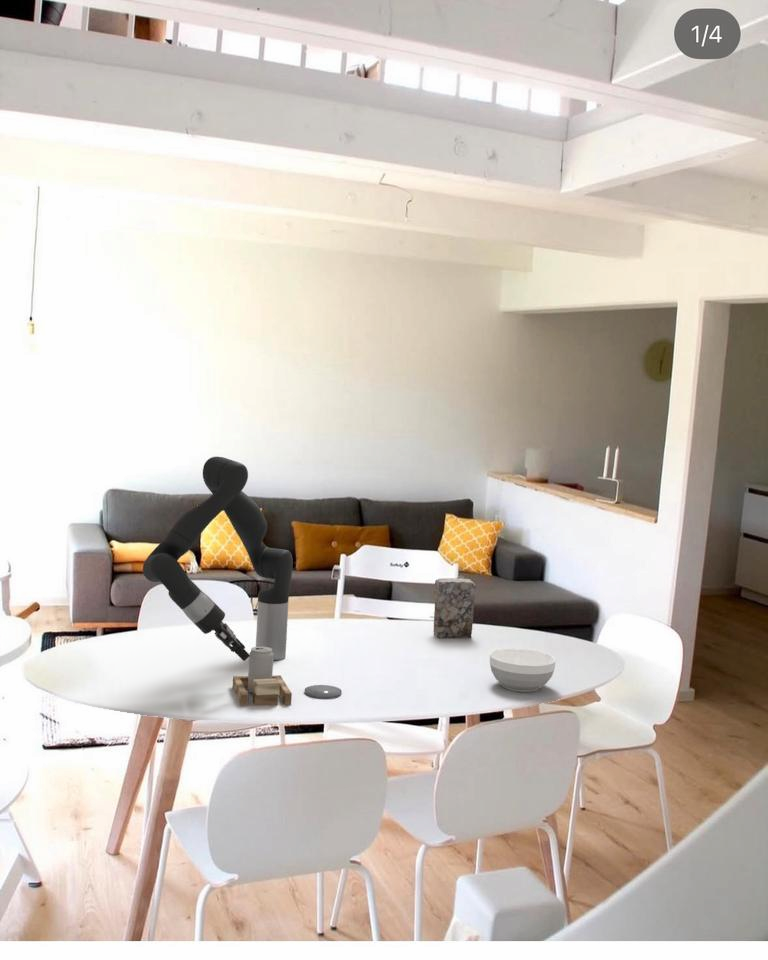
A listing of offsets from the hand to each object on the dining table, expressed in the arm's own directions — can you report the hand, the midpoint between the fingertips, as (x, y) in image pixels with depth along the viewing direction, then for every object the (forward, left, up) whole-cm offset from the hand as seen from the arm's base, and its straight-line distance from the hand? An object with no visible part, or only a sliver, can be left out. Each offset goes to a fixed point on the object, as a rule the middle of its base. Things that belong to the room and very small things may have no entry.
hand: (244, 654), depth 272 cm
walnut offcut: (+9, +4, -11) cm, 15 cm away
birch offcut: (+9, +5, -8) cm, 13 cm away
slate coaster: (+2, +21, -11) cm, 24 cm away
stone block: (-59, +80, -11) cm, 101 cm away
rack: (+3, +4, -11) cm, 12 cm away
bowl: (0, +80, -11) cm, 81 cm away
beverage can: (0, +4, -11) cm, 12 cm away
